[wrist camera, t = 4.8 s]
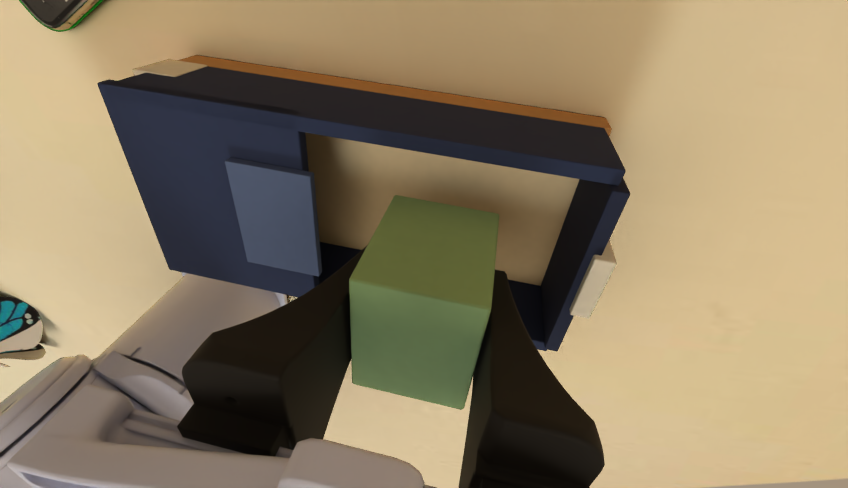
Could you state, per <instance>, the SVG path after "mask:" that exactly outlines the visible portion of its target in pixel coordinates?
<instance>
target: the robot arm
mask: <svg viewBox="0 0 848 488" xmlns="http://www.w3.org/2000/svg"><path fill="white" fill-rule="evenodd" d="M366 247H367V246H366ZM366 247H365V248H363V249H362V250H361V251H360V252H359V253H358V254H357V255H356V256H354V257H353V258H352V259H351V260H350V261H349V262H348V263H346V264H345V265H344V266H343V267H341V268H340V269H339V270H338V271H336V272H335V273H334V274H333V275H331V276H330V277H329V278H327V279H326V280H324V281H323V282H322V283H320V284H319V285H317V286H316V287H315V288H313V289H311V290H310V291H308V292H307V293H305V294H304V295H302V296H300V297H298V298H297V299H295V300H293V301H291V302H289V303H288V301H287V295H285V294H281V293H276V292H271V291H267V290H262V289H258V288H253V287H248V286H244V285H239V284H234V283H230V282H225V281H221V280H216V279H211V278H207V277H202V276H198V275H193V274H188V273H184V272H182V275H183V278H182V279H181V280H180V281H179V282H178V283H176V284H175V285H174V286H173V287H172V288H171V289H170V290H169V291H168V292H167V293H166V294H165V295H164V296H163V297H162V298H160V299H159V300H158V301H157V302H156V303H155V304H154V305H153V306H152V307H151V308H150V309H149V310H148V311H147V312H145V313H144V314H143V315H142V316H141V317H140V318H139V319H138V320H137V321H136V322H135V323H134V324H133V325H132V326H131V327H129V328H128V329H127V330H126V331H125V332H124V333H123V334H122V335H121V336H120V337H119V338H118V339H117V340H116V341H115V342H113V343H112V344H111V345H110V346H109V347H108V348H107V349H106V350H105V351H104V352H103V353H102V354H101V355H100V356H99V357H97V358H95V359H93V360H90V359H89V358H88V357H87V356H85V355H83V354H82V355H77V356H75V357H63V358H60V359H58V360H57V361H55V362H53V363H52V364H50V365H49V366H47V367H46V368H45V369H43V370H42V371H40V372H39V373H38V374H36V375H35V376H34V377H32V378H31V379H30V380H29V381H27V382H26V383H25V384H23V385H22V386H21V387H20V388H18V389H17V390H16V391H15V392H13V393H12V394H11V395H10V396H8V397H7V398H6V399H5V400H4V401H2V402H1V403H0V488H436V487H432V486H428V485H425V484H424V481H423V478H422V475H421V473H420V472H419V471H418V470H417V469H416V468H415V467H413V466H412V465H411V464H409V463H407V462H405V461H402V460H399V459H397V458H394V457H390V456H386V455H382V454H379V453H375V452H371V451H367V450H363V449H359V448H355V447H351V446H347V445H343V444H339V443H336V442H332V441H328V440H323V437H324V434H325V431H326V428H327V425H328V422H329V419H330V416H331V413H332V410H333V407H334V404H335V401H336V398H337V396H338V393H339V390H340V387H341V384H342V381H343V379H344V376H345V373H346V370H347V368H348V365H349V363H350V360H351V327H350V294H349V279H350V277H351V275H352V273H353V271H354V269H355V267H356V266H357V264H358V262H359V260H360V258H361V256H362V255H363V253H364V251H365V249H366ZM604 465H605V464H604V455H603V449H602V445H601V441H600V438H599V434H598V431H597V428H596V425H595V422H594V421H593V420H592V419H591V418H590V417H589V416H588V415H587V414H586V412H585V411H584V410H583V409H582V408H581V407H580V406H579V405H578V404H577V403H576V402H575V401H574V400H573V399H572V398H571V396H570V395H569V394H568V393H567V392H566V390H565V389H564V388H563V387H562V385H561V384H560V383H559V381H558V380H557V378H556V377H555V376H554V374H553V373H552V372H551V370H550V369H549V368H548V366H547V365H546V363H545V361H544V360H543V358H542V357H541V355H540V354H539V352H538V350H537V348H536V347H535V345H534V343H533V341H532V340H531V338H530V336H529V334H528V332H527V330H526V328H525V326H524V323H523V321H522V319H521V317H520V314H519V312H518V309H517V307H516V304H515V302H514V299H513V296H512V293H511V290H510V286H509V282H508V278H507V274H506V273H505V271H500V270H495V273H494V284H493V295H492V307H491V312H490V316H489V319H488V323H487V326H486V330H485V334H484V337H483V341H482V344H481V348H480V352H479V355H478V359H477V363H476V366H475V370H474V373H473V389H472V399H471V406H470V413H469V420H468V428H467V435H466V442H465V449H464V455H463V462H462V469H461V476H460V482H459V488H589V486H590V485H591V484H592V482H593V481H594V480H595V478H596V477H597V476H598V475H599V473H600V472H601V471H602V469H603V467H604Z"/></svg>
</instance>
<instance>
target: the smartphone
mask: <svg viewBox="0 0 848 488" xmlns="http://www.w3.org/2000/svg"><path fill="white" fill-rule="evenodd" d="M19 1H20V2H21V3H22V5H23V6H24V7H25V8H26V9H27V10H28V11H29V12H30V14H31V15H32V16H33V17H34V18H35V19H36V20H37V21H38V22H40V23H41V24H42V25H44V26H45V27H47V28H49V29H51V30H53V31H58V32H62V31H67V30H70V29H72V28H74V27H75V26H76V25H77V24H78V23H80V22H81V21H82V20H83V19H84V18H85V17H86V16H87V15H88V14H89V13H90V12H91V11H92V10H93V9H95V8H96V7H97V6H98V5H99V4H100V3H101V2H102V1H103V0H19Z"/></svg>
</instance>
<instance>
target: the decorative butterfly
mask: <svg viewBox="0 0 848 488" xmlns="http://www.w3.org/2000/svg"><path fill="white" fill-rule="evenodd" d="M42 333H43V324H42V321H41V318H40V316H39V314H38V312H37V311H36V310H35V309H34V308H32V307H31V306H30V305H28V304H26V303H24V302H22V301H20V300H18V299H15V298H12V297H0V359H2V358H9V359H23V360H35V359H40V358H42V357H43V356H44V355H45V353H46V351H45V349H44V348H43V346H41V345H40V344H38V343H39V342H40V340H41V337H42ZM0 366H2V367H10V366H8V365H5V364H2V363H0Z"/></svg>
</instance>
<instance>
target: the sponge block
mask: <svg viewBox="0 0 848 488" xmlns="http://www.w3.org/2000/svg"><path fill="white" fill-rule="evenodd" d="M498 227H499V214H497V213H492V212H487V211H481V210H476V209H470V208H465V207H459V206H454V205H448V204H443V203H437V202H432V201H426V200H421V199H416V198H410V197H405V196H399V195H395V196H394V197H393V199H392V201H391V203H390V205H389V206H388V208H387V210H386V212H385V214H384V216H383V218H382V219H381V221H380V223H379V225H378V227H377V229H376V231H375V232H374V234H373V236H372V238H371V240H370V242H369V243H368V245H367V247H366V249H365V251H364V253H363V255H362V256H361V258H360V260H359V262H358V264H357V266H356V267H355V269H354V271H353V273H352V275H351V277H350V279H349V294H350V327H351V359H352V383H353V384H356V385H360V386H364V387H369V388H373V389H377V390H381V391H385V392H390V393H394V394H398V395H402V396H406V397H411V398H415V399H419V400H423V401H427V402H431V403H436V404H440V405H444V406H448V407H452V408H457V409H463V408H464V406H465V402H466V399H467V395H468V391H469V388H470V384H471V381H472V377H473V373H474V370H475V366H476V363H477V359H478V355H479V352H480V348H481V344H482V341H483V337H484V334H485V330H486V326H487V323H488V319H489V316H490V312H491V307H492V295H493V284H494V273H495V261H496V250H497V238H498Z"/></svg>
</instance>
